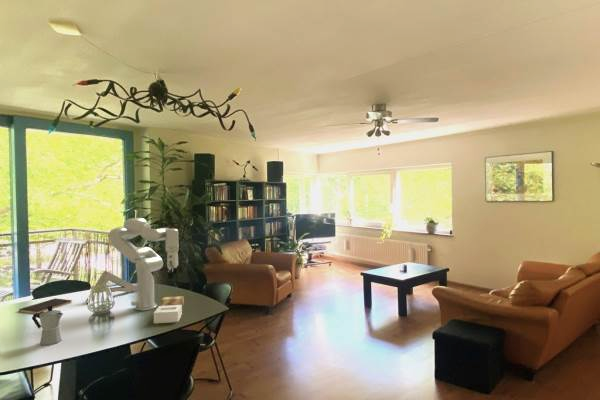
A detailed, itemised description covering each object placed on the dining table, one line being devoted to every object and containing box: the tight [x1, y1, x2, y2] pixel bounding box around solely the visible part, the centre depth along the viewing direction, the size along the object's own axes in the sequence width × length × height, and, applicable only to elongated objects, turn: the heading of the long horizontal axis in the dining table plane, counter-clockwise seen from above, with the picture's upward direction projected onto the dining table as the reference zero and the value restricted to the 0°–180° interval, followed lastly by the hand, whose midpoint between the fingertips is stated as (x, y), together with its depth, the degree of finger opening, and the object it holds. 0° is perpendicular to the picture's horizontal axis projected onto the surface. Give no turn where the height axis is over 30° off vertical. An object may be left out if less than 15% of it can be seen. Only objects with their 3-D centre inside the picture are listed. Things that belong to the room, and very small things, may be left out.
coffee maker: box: [31, 305, 64, 347], centre depth 171 cm, size 15×9×18 cm, turn 92°
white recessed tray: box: [153, 305, 183, 324], centre depth 202 cm, size 13×12×6 cm
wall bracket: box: [85, 270, 138, 303], centre depth 248 cm, size 22×4×30 cm
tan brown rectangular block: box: [161, 295, 185, 307], centre depth 215 cm, size 12×5×8 cm, turn 99°
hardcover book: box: [18, 297, 73, 315], centre depth 226 cm, size 16×23×2 cm
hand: (172, 276), depth 214 cm, fingers open, 9 cm apart
